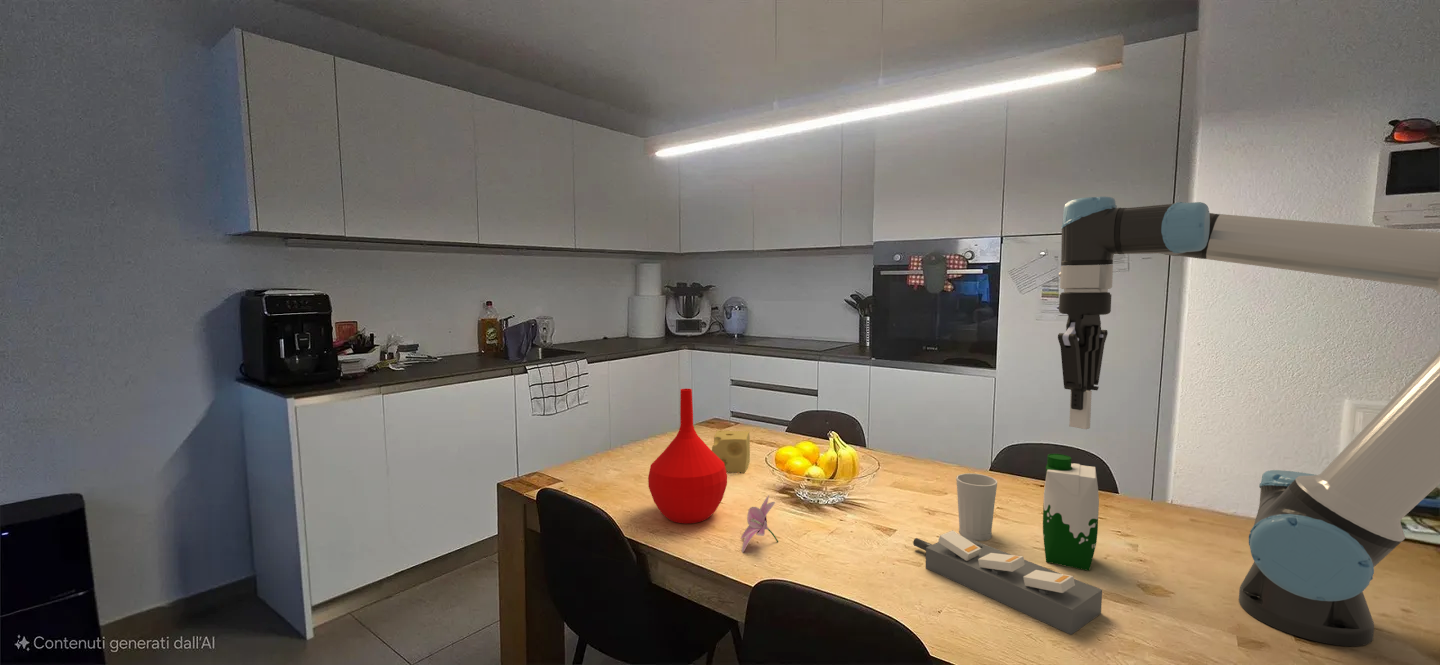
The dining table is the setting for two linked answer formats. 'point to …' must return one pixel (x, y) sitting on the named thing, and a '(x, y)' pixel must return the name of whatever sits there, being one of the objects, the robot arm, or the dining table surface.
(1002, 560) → the rocker
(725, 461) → the cheese
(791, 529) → the dining table surface
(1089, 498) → the milk carton
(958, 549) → the rocker
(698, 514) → the vase
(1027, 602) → the power strip
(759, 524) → the lily
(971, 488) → the cup
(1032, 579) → the rocker
